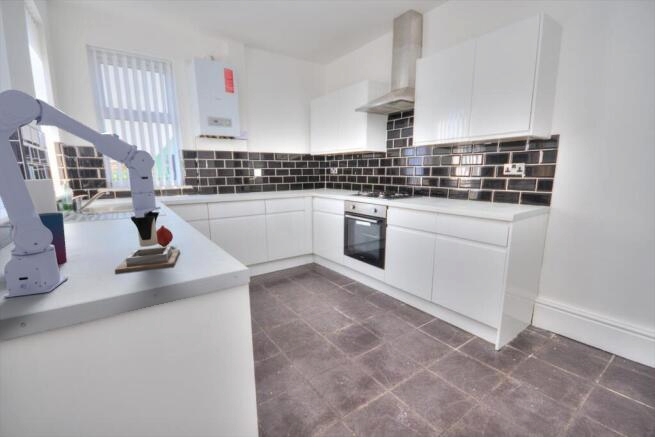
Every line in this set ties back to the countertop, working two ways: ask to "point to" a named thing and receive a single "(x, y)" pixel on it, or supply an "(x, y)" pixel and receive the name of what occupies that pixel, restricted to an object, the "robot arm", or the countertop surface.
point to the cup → (56, 233)
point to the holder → (149, 259)
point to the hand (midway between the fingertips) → (148, 237)
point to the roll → (153, 237)
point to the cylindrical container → (42, 195)
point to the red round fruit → (164, 236)
